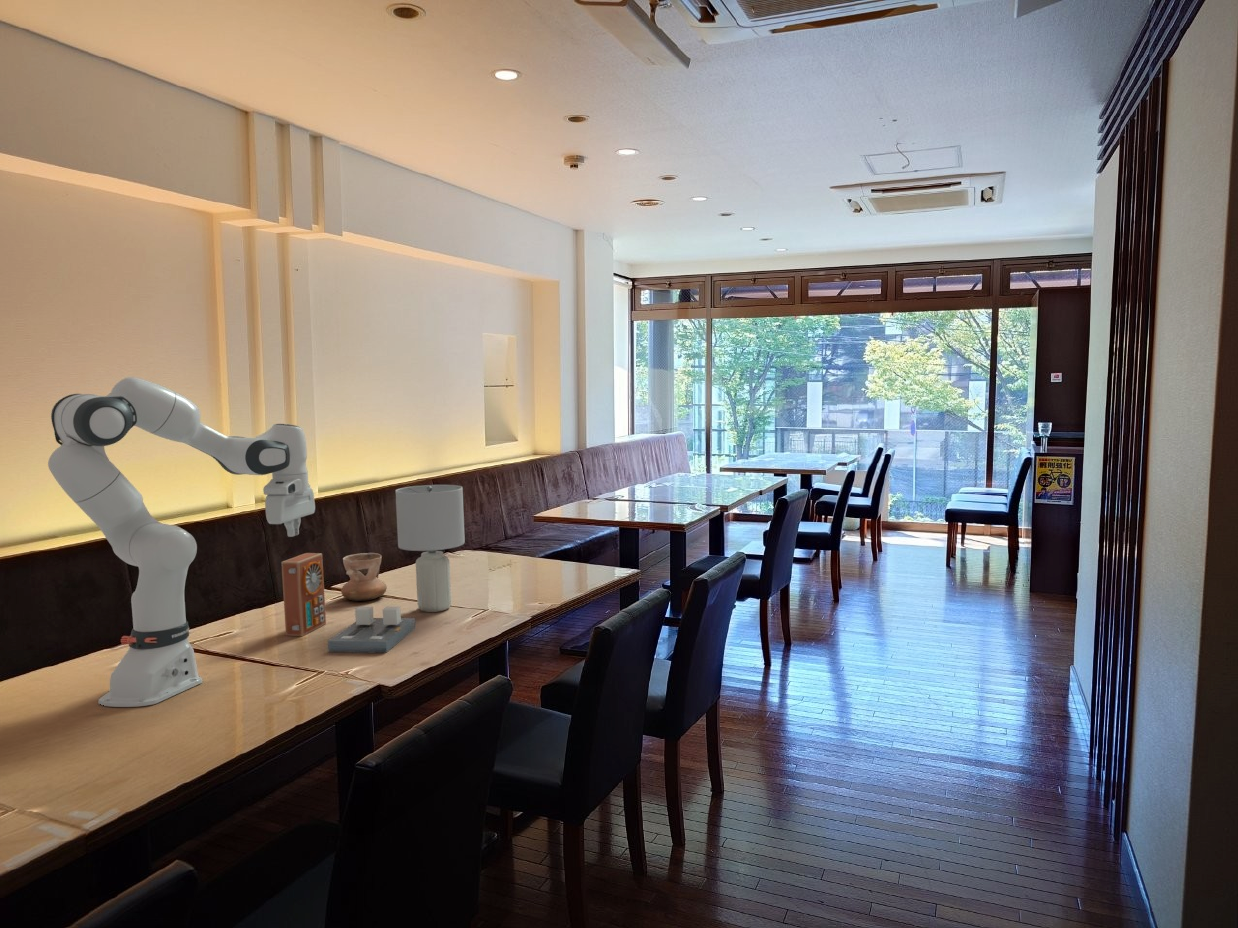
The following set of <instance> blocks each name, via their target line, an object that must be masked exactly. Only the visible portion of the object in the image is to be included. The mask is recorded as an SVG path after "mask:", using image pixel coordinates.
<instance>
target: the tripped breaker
mask: <svg viewBox="0 0 1238 928" xmlns="http://www.w3.org/2000/svg"><path fill="white" fill-rule="evenodd" d="M382 618H383V625H398V624H399V623H400V622H401V618H402V616H401V606H385V607H384V608H382Z"/></svg>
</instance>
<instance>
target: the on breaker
mask: <svg viewBox="0 0 1238 928" xmlns="http://www.w3.org/2000/svg"><path fill="white" fill-rule="evenodd" d="M354 616H355V622H356V625H370V624H371V623H373V622H374V618H375V617H374V606H357V608H355V609H354Z"/></svg>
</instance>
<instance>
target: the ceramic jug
mask: <svg viewBox="0 0 1238 928" xmlns="http://www.w3.org/2000/svg"><path fill="white" fill-rule="evenodd" d="M382 559H383V558H382V555H381V554H380V553H375V552H368V553H367V552H366V553H365V552H362V553H356V554H355V553H354V554H349V555H346V556H344V557H343V558H342V562H343V566H344V569H345V571H346V572H345V574H346V575H347V576H348V577H349V579H350V580H348V581H347V582H346V583H344V584H343V586H342V587H341V591H340V592H341V595H342V597H344V598H345V599H347V600H349V601H353V602H354V601H355V602H366V601H371V600H375V599H377V598H380V597H382V596H383V595H384V594H385V593H386V592H387V588H388V587H387V584H386V583H385V582H384V581H383V580H381V579H379V574H380V567H381V564H382Z"/></svg>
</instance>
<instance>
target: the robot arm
mask: <svg viewBox="0 0 1238 928" xmlns="http://www.w3.org/2000/svg"><path fill="white" fill-rule="evenodd" d="M50 413H51V414H50V418H51V424H52V429H53V431H54V432H53V433H54V437H55V441H56V443H58V444H59V447H57V448H56V449H55V450H54V451H53V452H52V453H51V455H50V456H49V459H48V462H47V465H48V466H47V467H48V470H49V471H50V473H51V474H52V476H53V478H54V479H55V480H56V482H57V483H58V485H59V486H60V488H61V489H62V490H63V491H64V492H65V494H66V495H67V496H68V497H69V498H70V499H71V500H72V501H73V502H74V503H75V504H76V505H77V506H78V507H79V509H81V510H82V511H83V512H84V514H85V515H87V517H88V518H90V520H91V521H93V523H94V524H95V525H96V526H97V527H98V528H99V529H100V531H101V532H102V534H103V536H104V538H106V540H107V542H108V543H109V545H110V546H111V548H112V551H113V553H114V554H115V555H116V556H117V558H119V559H120V560H121V561H123V562H124V563H126V564H128V565H131V566H134V567H138V579H137V583H136V584H137V585H136V588H135V591H133V593H132V594H131V598H130V600H131V601H130V603H131V613H132V614H131V616H132V626H133V628H132V629H131V632H130V635H123V636H121V638H120V643H121V645H124V646H125V645H128V646H129V648H128V650H127V651H126V653H125V654H124V655H123V657H122V659H121V660H120V662H119V663H118V664H117V666H116V667H115V669H114V670H113V671H112V672H111V675H110V678H109V691H108V692H106V693H105V694H104V695H103V696H101V697H100V698H99V699H98V702H97V704H98V705H100V704H101V705H100V706H103V705H104V706H103V707H110V708H111V707H113V708H135V707H137V708H139V707H146V706H152V705H156V704H158V703H161V702H162V701H165V700H168V699H169V698H172V697H173V696H175V695H178V694H180V693H182V692H185V691H187V690H188V689H189V690H190V689H192V688H193V687H196V686H197V685H200V684H202V683H203V682H204V681H203V679H202V678H203V677H202V676H199V673H198V666H197V661H196V654H195V651H194V647H193V646H192V645H191V643H190V641H189V638H188V637H189V636H190V626H189V621H187V618H186V602H185V588H186V587H185V586H186V580H187V575H188V570H189V567H190V565H191V563H192V562H193V561H194V560H195V558H196V556H197V552H198V551H197V550H198V544H197V541H196V539H195V537H194V536H193V535H192V534H191V533H189V532H188V531H187V530H186V529H183V528H181V527H180V526H178V525H174V524H169V523H168V524H167V523H162V522H160V521H158V520H156V519H155V518H154V517H153V516H152V515H151V513H150V511H149V510H148V508H147V507H146V505H145V503H144V497H143V494H142V493H140V491H139V490H138V489H137V488H136V487H135V486H134V484H133V483H131V482H130V481H129V479H128V478H127V477H126V476H125V475H124V474H123V473H122V471H120V469H118V468H117V466H116V465H115V464H114V463H113V462H112V461H111V460H110V458H109V457H108V455H107V454H106V450H105V447H107V446H111V445H114V444H117V443H118V442H119V441H121V440H122V439H124V437H125V436H126V435H127V434H128V433H129V431H130V430H132V428H133V427H137V428H139V429H142V430H144V431H146V432H147V433H150V434H153V435H155V436H158V437H159V438H163V439H166V440H170V441H173V442H176V443H183V444H186V445H188V446H190V447H192V448H194V449H196V450H198V451H199V452H202V453H204V454H206V455H208V456H210V457H211V458H213V459H214V460H215V461H216V462H217V463H218V464H219V465H220V466H221V468H223V469H224V470H225V471H226V472H228V473H230V474H232V475H249V476H251V475H252V476H266V475H269V474H272V475H271V476H272V479H270V481H269V482H268V483H266V485H264V487H263V489H262V490H263V495H265V499H264V506H265V508H264V510H265V517H266V520H267V521H266V522H267V523H268V524H269V525H282V524H284V527H285V529H286V533H287V534H286V535H287V537H289V538H290V537H291V538H292V537H295V536H298V535H299V534H300V530H299V529H300V526H301V523H302V519H301V518H304V517H307V516H309V515H313V514H314V513H315V512H316V502H315V495H314V490H313V489H312V488H311V484H309V474H308V468H307V458H308V451H307V450H308V449H307V442H306V440H307V439H306V436H305V432H304V430H303V429H302V428H301V427H300V426H298V425H296V424H287V423H275V424H273V425H272V426H271V427H270V428H269V429H268V430H267V431H265V432H263V433H262V434H261V433H260V435H256V436H255V437H245V436H236V435H235V436H231V435H229V436H228V435H225V434H223V433H221V432H219V431H217V430H216V429H213V428H211V427H210V426H207V425H206V424H204V423H203V422H201V411H200V409H199V407H198V405H196V403H194V402H193V401H191V400H190V399H188V398H187V397H185V396H184V395H182V394H180V393H178V392H176V391H174V390H172V389H170V388H168V387H165V386H163V385H161V384H158V383H155V382H153V381H150V380H146V379H143V378H139V377H134V376H128V377H124V378H122V379H121V380H119V381H118V382H117V383H116V384H115V385H113V387H112V389H111V392H109V393H108V394H107V395H105V396H104V395H97V394H92V393H91V394H90V393H73V394H69V395H66V396H64V397H62V398H61V399H59V400H58V401H56V402H55V404H54V405H53V407H52V409H51V412H50Z"/></svg>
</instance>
